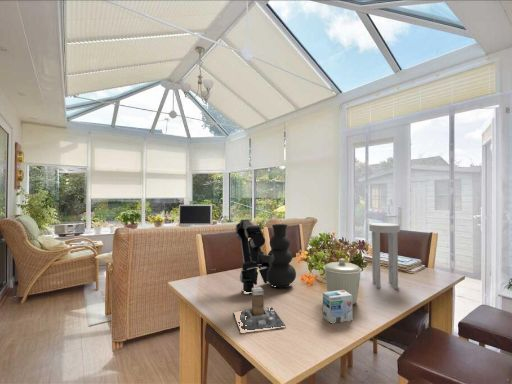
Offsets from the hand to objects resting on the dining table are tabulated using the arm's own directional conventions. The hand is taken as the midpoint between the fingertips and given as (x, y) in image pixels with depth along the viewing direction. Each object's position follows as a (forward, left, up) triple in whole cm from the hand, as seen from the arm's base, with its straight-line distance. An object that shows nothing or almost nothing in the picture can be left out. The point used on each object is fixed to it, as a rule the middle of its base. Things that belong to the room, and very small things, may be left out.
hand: (261, 284), depth 127 cm
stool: (-12, +77, -11) cm, 79 cm away
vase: (-26, +18, -11) cm, 34 cm away
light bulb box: (+20, +28, -11) cm, 36 cm away
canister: (+4, +40, -11) cm, 42 cm away
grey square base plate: (+13, -5, -11) cm, 17 cm away
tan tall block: (+13, -5, -10) cm, 17 cm away
